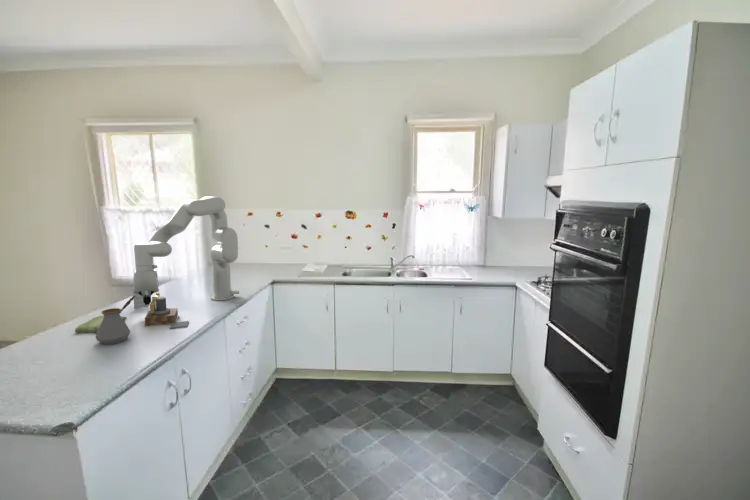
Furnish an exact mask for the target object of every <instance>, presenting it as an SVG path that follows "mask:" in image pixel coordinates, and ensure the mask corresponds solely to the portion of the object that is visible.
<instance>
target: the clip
mask: <svg viewBox="0 0 750 500" xmlns="http://www.w3.org/2000/svg"><path fill="white" fill-rule="evenodd" d="M157 297H161V294H160V291H159V292H156V294H155V296H153V297H152V296H151V302H150V304H149V310H150V313H154V312H155V311H156V309H157V307H156V299H157Z"/></svg>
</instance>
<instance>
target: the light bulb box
mask: <svg viewBox="0 0 750 500" xmlns="http://www.w3.org/2000/svg"><path fill="white" fill-rule="evenodd" d="M145 293H146V295H148V291H145ZM133 296H136V297H134V299H133V300H132V301H133V309H135V308H148V307H150V304H149V305H148V304H147V305H145V303H144V302H143V297H142V296H141V295H140V294H134V287H133V288H132V297H133ZM137 297H138V299H137Z"/></svg>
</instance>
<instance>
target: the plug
mask: <svg viewBox="0 0 750 500" xmlns="http://www.w3.org/2000/svg"><path fill="white" fill-rule="evenodd" d="M156 307H157V309H156V311H155V312H154V313H153V314H155V315H162V314H167V313H169V312H170V308H171V307H170V308H169V307H167V298H166V297H165V296H160V297H157V299H156Z"/></svg>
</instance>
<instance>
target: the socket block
mask: <svg viewBox="0 0 750 500" xmlns="http://www.w3.org/2000/svg"><path fill="white" fill-rule="evenodd" d="M178 312H179V311H178V307H173V308H172V307H170V312H169V313H167V314H162V315H155V314H153V313H150V309H149V310H148V311H147V313H146V315H145V317H144V323H145V325H144V326H145V327H154V326H163V325H171V323H172V322H177V319H178V317H179V315H178Z"/></svg>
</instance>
